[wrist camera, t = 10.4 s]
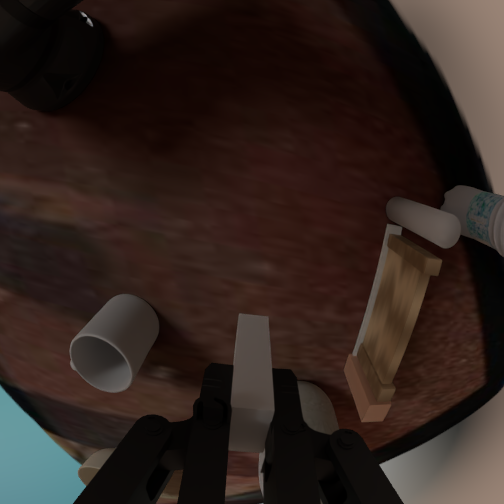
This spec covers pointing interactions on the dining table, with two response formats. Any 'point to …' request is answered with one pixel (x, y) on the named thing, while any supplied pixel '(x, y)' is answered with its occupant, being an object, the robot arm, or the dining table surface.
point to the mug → (115, 343)
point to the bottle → (478, 214)
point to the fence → (416, 220)
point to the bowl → (94, 464)
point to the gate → (395, 312)
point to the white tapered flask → (312, 414)
